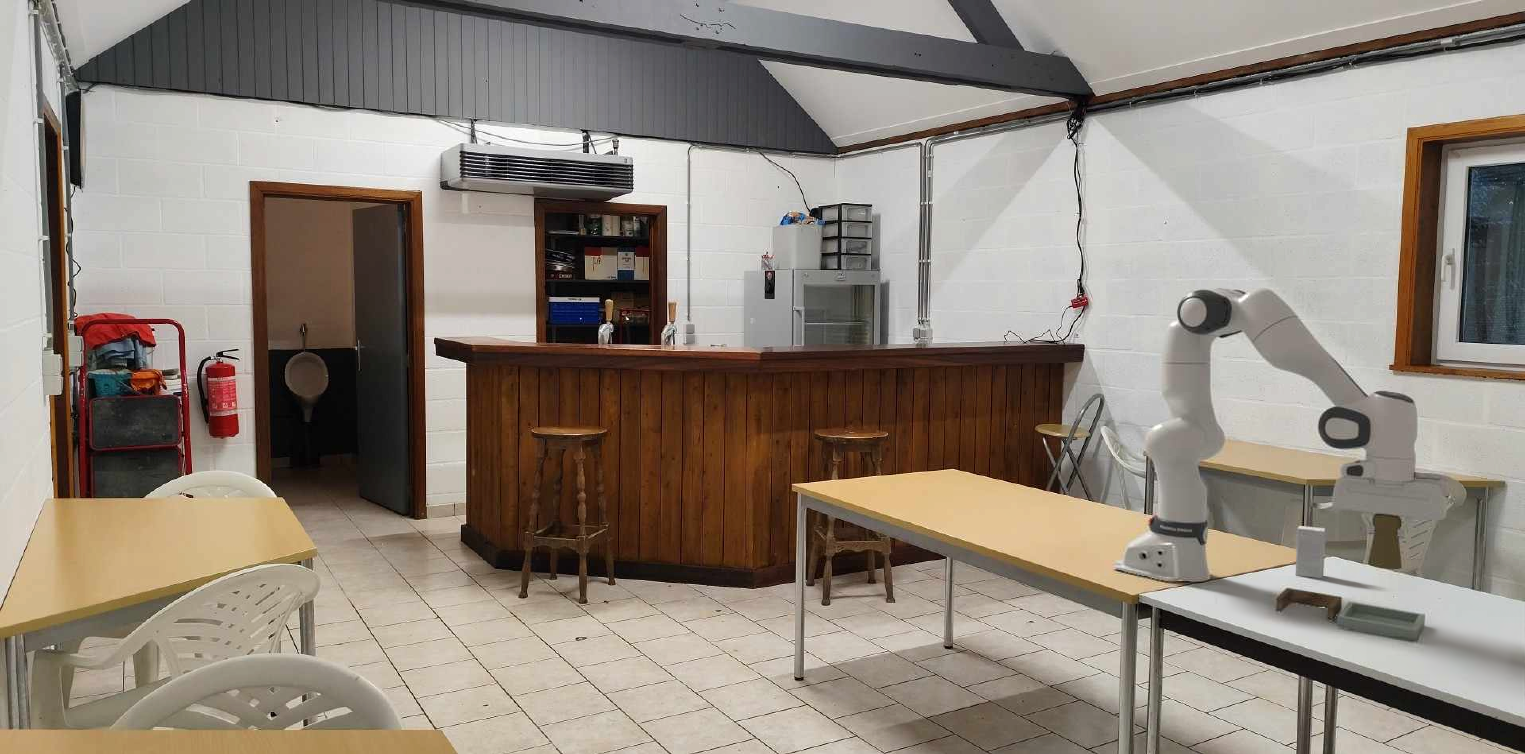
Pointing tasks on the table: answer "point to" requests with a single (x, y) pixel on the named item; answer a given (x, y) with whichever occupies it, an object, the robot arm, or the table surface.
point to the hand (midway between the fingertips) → (1386, 535)
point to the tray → (1381, 621)
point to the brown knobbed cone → (1385, 542)
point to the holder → (1310, 601)
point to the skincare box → (1310, 552)
